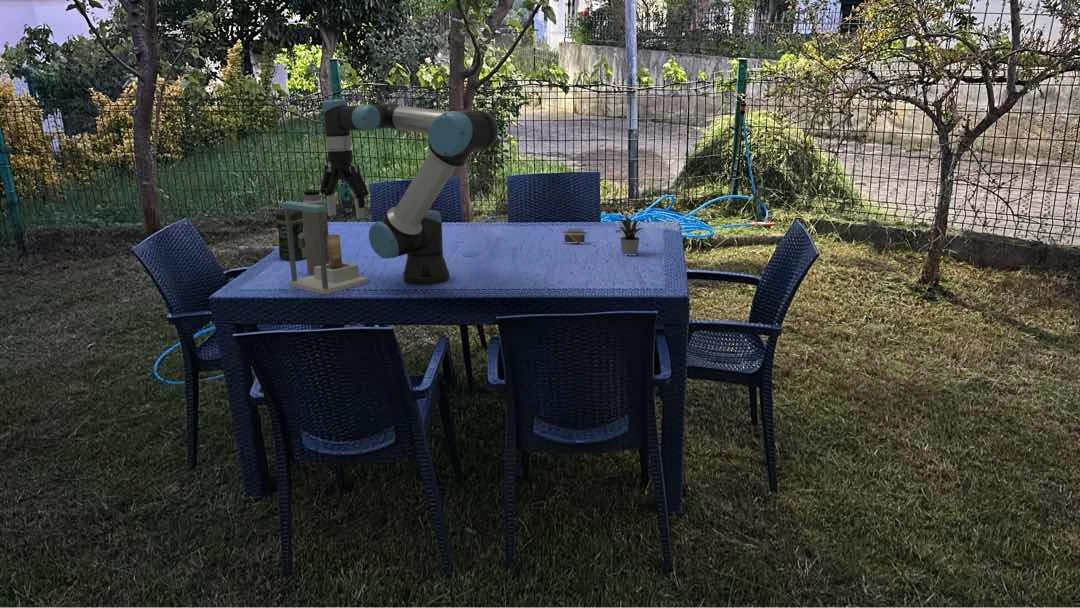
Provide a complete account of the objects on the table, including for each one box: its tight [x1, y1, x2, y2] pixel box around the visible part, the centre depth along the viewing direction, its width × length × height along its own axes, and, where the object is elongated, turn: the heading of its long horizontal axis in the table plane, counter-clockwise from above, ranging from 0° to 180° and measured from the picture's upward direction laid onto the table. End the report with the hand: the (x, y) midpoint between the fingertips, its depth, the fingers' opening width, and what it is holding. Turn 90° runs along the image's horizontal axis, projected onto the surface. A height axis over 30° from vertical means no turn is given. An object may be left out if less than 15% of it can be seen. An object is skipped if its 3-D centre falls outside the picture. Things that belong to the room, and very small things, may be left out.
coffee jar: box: [275, 208, 306, 261], centre depth 286 cm, size 10×8×19 cm
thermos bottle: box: [302, 190, 330, 276], centre depth 263 cm, size 8×8×28 cm
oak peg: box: [327, 234, 343, 270], centre depth 251 cm, size 4×4×14 cm
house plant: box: [612, 212, 648, 255], centre depth 285 cm, size 14×14×16 cm
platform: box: [561, 227, 588, 243], centre depth 307 cm, size 12×18×7 cm, turn 82°
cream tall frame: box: [280, 200, 370, 295], centre depth 248 cm, size 18×18×27 cm
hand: (346, 216), depth 250 cm, fingers open, 13 cm apart
